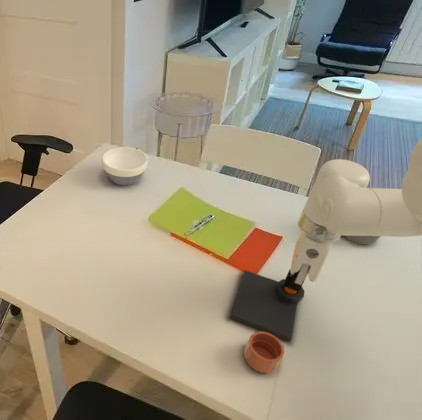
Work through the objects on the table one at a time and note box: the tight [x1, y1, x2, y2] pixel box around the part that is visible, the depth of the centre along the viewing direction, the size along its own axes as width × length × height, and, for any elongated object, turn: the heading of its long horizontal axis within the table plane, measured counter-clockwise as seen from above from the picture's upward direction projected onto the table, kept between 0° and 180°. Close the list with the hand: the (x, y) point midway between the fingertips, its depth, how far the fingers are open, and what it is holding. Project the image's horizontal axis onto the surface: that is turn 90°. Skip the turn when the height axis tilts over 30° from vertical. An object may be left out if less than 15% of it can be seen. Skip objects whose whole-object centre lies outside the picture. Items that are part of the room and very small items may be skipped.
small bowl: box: [243, 330, 285, 374], centre depth 71 cm, size 6×6×4 cm
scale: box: [229, 270, 305, 342], centre depth 81 cm, size 13×14×3 cm
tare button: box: [284, 287, 297, 295], centre depth 82 cm, size 3×3×2 cm
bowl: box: [101, 146, 149, 186], centre depth 119 cm, size 14×14×8 cm
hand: (291, 286), depth 81 cm, fingers closed
